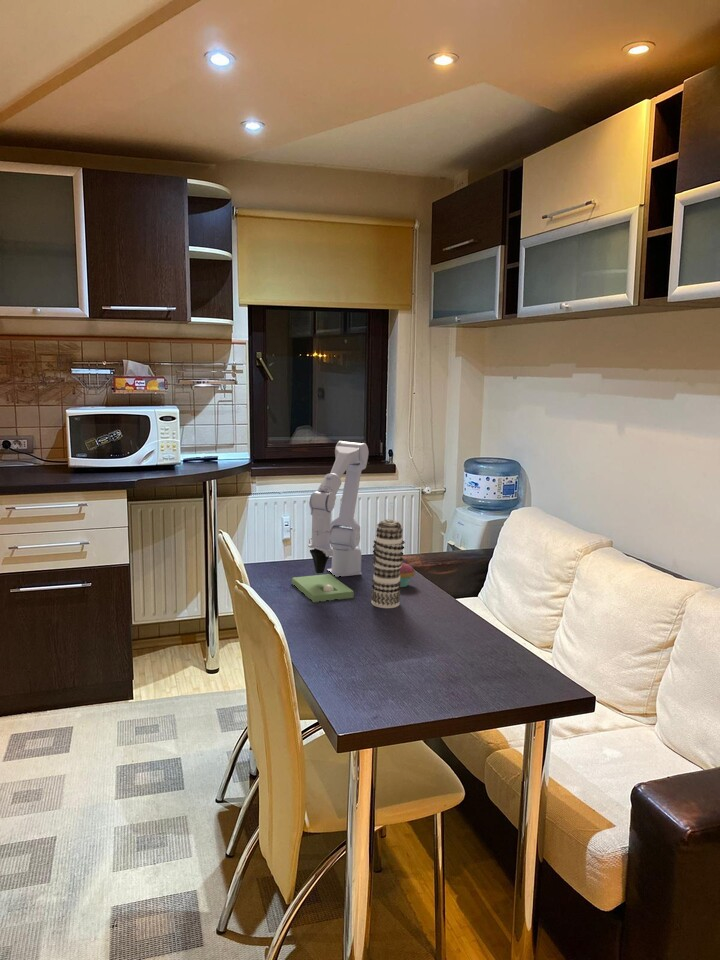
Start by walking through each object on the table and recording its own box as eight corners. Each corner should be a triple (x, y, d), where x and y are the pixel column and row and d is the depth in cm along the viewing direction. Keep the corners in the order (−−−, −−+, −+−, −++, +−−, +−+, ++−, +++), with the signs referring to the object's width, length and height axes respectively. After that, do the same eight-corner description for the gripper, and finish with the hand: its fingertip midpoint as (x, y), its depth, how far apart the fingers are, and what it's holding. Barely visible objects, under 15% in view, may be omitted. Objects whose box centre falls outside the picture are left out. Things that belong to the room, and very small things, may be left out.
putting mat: (329, 579, 233) (329, 573, 233) (353, 597, 217) (353, 591, 217) (291, 583, 228) (292, 577, 227) (313, 602, 212) (313, 595, 211)
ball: (330, 593, 220) (331, 582, 220) (335, 595, 217) (335, 585, 217) (321, 594, 219) (321, 583, 218) (325, 597, 216) (325, 586, 216)
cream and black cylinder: (401, 609, 209) (406, 526, 205) (369, 607, 209) (374, 524, 205) (400, 599, 218) (405, 518, 214) (370, 597, 218) (374, 517, 214)
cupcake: (382, 581, 234) (384, 546, 232) (405, 579, 238) (408, 544, 235) (395, 590, 226) (397, 553, 224) (418, 587, 230) (421, 551, 228)
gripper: (300, 525, 226) (299, 566, 229) (318, 537, 213) (316, 580, 216) (321, 523, 229) (319, 564, 232) (339, 535, 216) (338, 578, 219)
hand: (319, 572), depth 224 cm, fingers closed
